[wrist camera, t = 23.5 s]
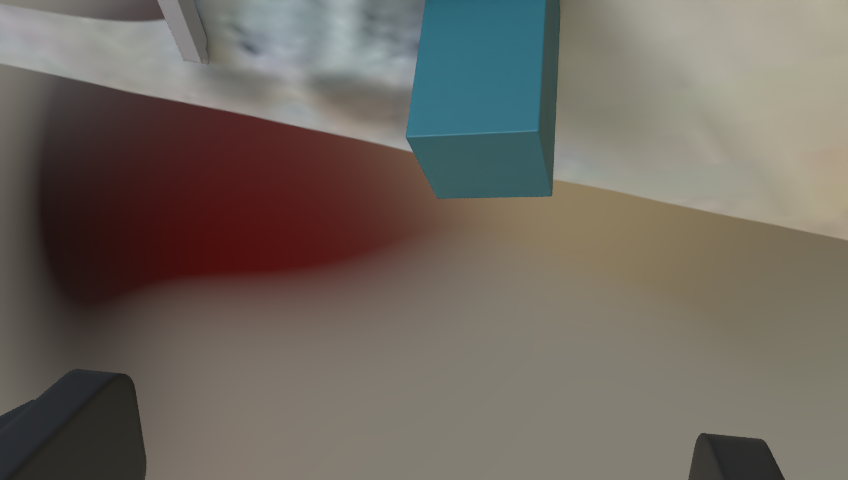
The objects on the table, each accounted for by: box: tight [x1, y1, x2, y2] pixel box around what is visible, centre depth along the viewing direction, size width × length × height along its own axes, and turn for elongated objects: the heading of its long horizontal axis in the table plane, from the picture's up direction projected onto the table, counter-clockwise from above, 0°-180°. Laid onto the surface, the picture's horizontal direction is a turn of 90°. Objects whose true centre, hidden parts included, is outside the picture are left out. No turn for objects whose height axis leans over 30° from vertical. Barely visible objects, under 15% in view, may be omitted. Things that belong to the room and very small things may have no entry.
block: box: [406, 0, 560, 199], centre depth 29 cm, size 5×5×10 cm
